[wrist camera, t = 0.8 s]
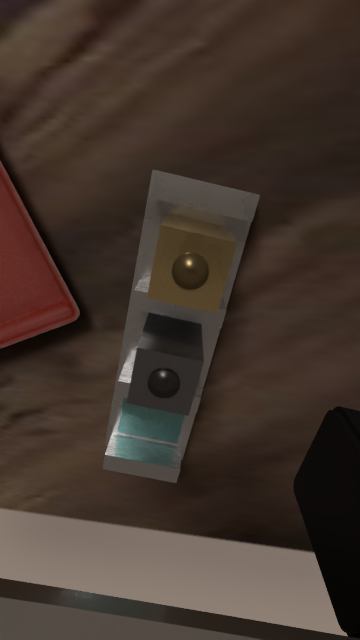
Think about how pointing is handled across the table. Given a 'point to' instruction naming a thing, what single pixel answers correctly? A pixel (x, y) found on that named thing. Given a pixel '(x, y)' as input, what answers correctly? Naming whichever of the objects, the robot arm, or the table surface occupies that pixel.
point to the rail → (151, 424)
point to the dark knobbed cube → (167, 364)
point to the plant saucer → (27, 275)
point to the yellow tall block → (191, 263)
